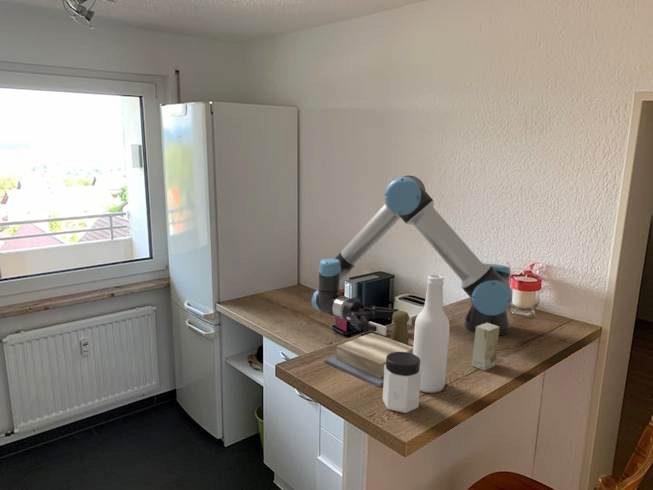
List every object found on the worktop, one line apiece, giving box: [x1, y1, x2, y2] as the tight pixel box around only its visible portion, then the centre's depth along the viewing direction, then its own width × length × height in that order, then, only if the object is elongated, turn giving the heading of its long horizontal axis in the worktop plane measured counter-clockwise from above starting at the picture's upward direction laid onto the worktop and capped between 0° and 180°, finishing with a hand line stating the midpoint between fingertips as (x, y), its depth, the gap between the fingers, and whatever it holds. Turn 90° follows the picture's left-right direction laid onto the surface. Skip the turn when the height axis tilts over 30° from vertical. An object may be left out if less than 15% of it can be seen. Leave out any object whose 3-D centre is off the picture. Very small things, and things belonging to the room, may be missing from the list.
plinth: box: [323, 331, 413, 387], centre depth 144 cm, size 22×20×5 cm
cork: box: [390, 310, 410, 346], centre depth 157 cm, size 6×6×11 cm
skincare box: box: [471, 323, 500, 371], centre depth 143 cm, size 6×4×12 cm
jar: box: [382, 352, 421, 414], centre depth 120 cm, size 9×8×12 cm
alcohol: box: [412, 274, 451, 394], centre depth 128 cm, size 9×9×30 cm
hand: (399, 326), depth 156 cm, fingers open, 13 cm apart
